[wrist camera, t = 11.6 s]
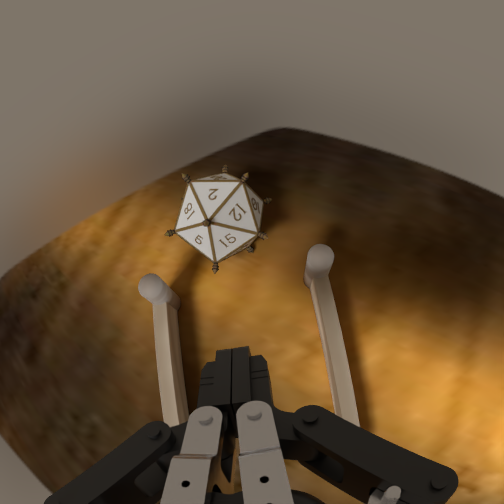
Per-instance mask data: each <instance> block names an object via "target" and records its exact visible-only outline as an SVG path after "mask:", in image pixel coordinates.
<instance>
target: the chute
mask: <svg viewBox="0 0 504 504" xmlns="http://www.w3.org/2000/svg"><path fill="white" fill-rule="evenodd" d="M333 261H334V253H333V251H332V249H331V248H330V247H328V246H327V245H324V244H317V245H314V246H313V247H311V248H310V250H309V252H308V256H307V262H306V267H305V272H304V278H303V279H304V283H305V285H306V286H307V287H308V288H310V291H311V295H312V300H313V304H314V309H315V313H316V318H317V323H318V327H319V332H320V337H321V342H322V347H323V352H324V357H325V362H326V367H327V372H328V377H329V383H330V388H331V393H332V399H333V404H334V410H335V415H337V416H339V417H341V418H343V419H345V420H347V421H349V422H351V423H353V424H355V425H356V426H358V427H360V424H359V418H358V412H357V407H356V401H355V396H354V390H353V385H352V380H351V375H350V370H349V365H348V360H347V355H346V350H345V346H344V341H343V336H342V332H341V327H340V323H339V319H338V314H337V310H336V306H335V301H334V297H333V293H332V289H331V285H330V281H329V277H328V274H329V271H330V269H331V266H332V263H333ZM138 289H139V292H140V294H141V295H142V296H143V297H145V298H146V299H147V300H148V301H150V302H151V303H153V319H154V334H155V347H156V358H157V369H158V378H159V387H160V396H161V404H162V411H163V418H164V422H165V423H166V424H168V425H169V427H172V426H176V425H179V424H182V423H185V422H186V421H188V419H189V412H188V405H187V398H186V390H185V382H184V374H183V365H182V356H181V347H180V337H179V326H178V315H177V310H178V309H179V308H180V305H181V301H180V298H179V296H178V295H177V294H176V293H175V292H174V291H173V290H172V289H171V288H170V287H169V286H168V285H167V284H166V283H165V282H164V281H163V280H162V279H161V278H160V277H159V276H158V275H156V274H147V275H145V276H144V277H142V279H141V280H140V282H139V285H138Z"/></svg>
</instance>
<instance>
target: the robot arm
mask: <svg viewBox="0 0 504 504" xmlns="http://www.w3.org/2000/svg"><path fill="white" fill-rule="evenodd" d="M235 438H239V444H240V454H239V465H240V474H241V482H242V490H243V491H241V492H238V493H234V476H235V464H236V448H235ZM283 459H290V460H298V461H299V463H300V464H301V465H303V466H304V467H306V468H307V469H309V470H310V471H312V472H313V473H315V474H316V475H318V476H320V477H321V478H323V479H324V480H326V481H327V482H329V483H331V484H332V485H334V486H335V487H337V488H339V489H340V490H342V491H344V492H345V493H347V494H349V495H351V496H352V497H354V498H356V499H358V500H359V501H361V502H363V503H365V504H445V503H446V502H447V501H448V499H449V498H450V497H451V496H452V495H453V493H454V492H455V491H456V489H457V487H458V476H457V474H456V473H455V471H454V470H452V469H451V468H449V467H447V466H444V465H442V464H439V463H437V462H434V461H432V460H429V459H427V458H425V457H422V456H420V455H418V454H415V453H413V452H411V451H409V450H406V449H404V448H402V447H400V446H398V445H395V444H393V443H391V442H389V441H387V440H385V439H383V438H381V437H379V436H376V435H374V434H372V433H370V432H368V431H366V430H364V429H362V428H360V427H358V426H356V425H355V424H353V423H351V422H349V421H347V420H345V419H343V418H341V417H339V416H337V415H335V414H334V413H332V412H330V411H328V410H326V409H324V408H323V407H320V406H317V405H308V406H304V407H302V408H300V409H298V410H297V411H296V412H295V413H291V412H284V411H281V410H279V409H277V408H276V407H275V406H274V404H273V396H272V388H271V381H270V376H269V371H268V366H267V361H266V360H265V359H264V358H263V356H262V355H257V356H251V353H250V349H249V346H245V347H238V348H233V349H224V350H217V351H216V359H215V361H214V362H207V363H206V365H205V366H204V368H203V369H202V372H201V380H200V387H199V394H198V402H197V409H196V410H194V411H193V412H192V413H191V415H190V416H189V419H188V421H186V422H185V423H182V424H179V425H176V426H172V427H169V425H168V424H166V423H165V422H162V421H154V422H150V423H148V424H146V425H145V426H143V427H142V428H141V429H140V430H138V431H137V432H136V433H135V434H133V435H132V436H131V437H130V438H128V439H127V440H126V441H124V442H123V443H122V444H121V445H119V446H118V447H117V448H115V449H114V450H113V451H112V452H110V453H109V454H108V455H106V456H105V457H104V458H102V459H101V460H100V461H98V462H97V463H96V464H94V465H93V466H92V467H90V468H89V469H88V470H86V471H85V472H83V473H82V474H81V475H79V476H78V477H76V478H75V479H74V480H72V481H71V482H69V483H68V484H67V485H65V486H64V487H62V488H61V489H60V490H58V491H57V492H55V493H54V494H52V495H51V496H49V497H48V498H47V499H46V500H45V502H44V504H156V503H157V502H158V501H159V500H160V499H161V498H162V499H161V503H159V504H325V503H324V502H322V501H321V500H319V499H318V498H316V497H314V496H312V495H310V494H308V493H305V492H301V491H297V490H291V489H290V485H289V481H288V477H287V473H286V468H285V464H284V460H283Z"/></svg>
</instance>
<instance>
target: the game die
mask: <svg viewBox="0 0 504 504" xmlns="http://www.w3.org/2000/svg"><path fill="white" fill-rule="evenodd" d="M222 171H223V173H220V174H215V175H211V176H206V177H202V178H198V179H193V180H190V176H188V174H182V177H183V178H182V179H183V180H184V181H185V182H187V187H186V190H185V193H184V196H183V198H181V199H182V203H181V207H180V210H179V214H178V217H177V221H176V224H175V228H174V230H171V229H170V230H169V231H168V230H167V232H166V234H165V235H166V236H169V237H170V236H171V235H172V236H173V234H177V235H178V236H179V237H181V238H182V239H183V240H184V241H186V242H187V243H188V244H190V245H191V246H192V247H194V248H195V249H196V250H197V251H199V252H200V253H201V254H203V255H204V256H205V257H207V258H208V259H209V260H211V261H212V262H213V263H214V265H213V266H212V267H213V268H212V270H213V272H214V274H215V273H216V272H217V271H218V270H219V269H218V267H219V266H218V263H219V262H221V261H223V260H225V259H227V258H229V257H231V256H233V255H235V254H237V253H238V252H240V251H242V250H244V249H246V248H247V251H248V252H252V253H253V248H252V247H251V246H250V245H251V243H252V242H253V241H254V240H255V239H256V238H257V237H258V236H259V237H260V238H262V239H263V240H264V239H267V238H268V237H267V235H266V233H264V232H260V229H261V221H262V214H263V206H264V203H266V204H267V203H270V201H271V200H272V199H271V198H268V197H267V198H265V199H264V200H262V199H261V198H260V197H259V196H258V195H257V194H256V193H255V192H254V191H253V190H252V189H251V188H250V187H249V186H248V185H247V184H246V183H245V181H247V179H249V177H248V173H245V174H243V176H242V177H241V179H239V178H237V177H234V176H232V175H230V174H227V171H228V167H227V166H226V165H225V166H224V167H222Z"/></svg>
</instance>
